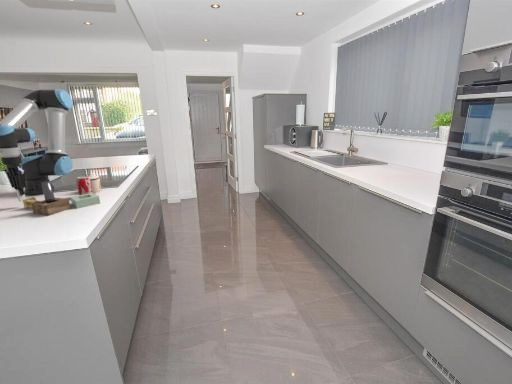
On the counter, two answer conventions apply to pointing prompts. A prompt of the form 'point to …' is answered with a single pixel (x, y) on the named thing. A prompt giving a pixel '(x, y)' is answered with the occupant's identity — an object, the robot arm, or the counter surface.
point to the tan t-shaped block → (29, 202)
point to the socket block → (51, 206)
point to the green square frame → (85, 200)
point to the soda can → (84, 185)
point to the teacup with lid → (95, 182)
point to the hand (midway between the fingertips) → (22, 200)
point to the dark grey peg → (48, 191)
